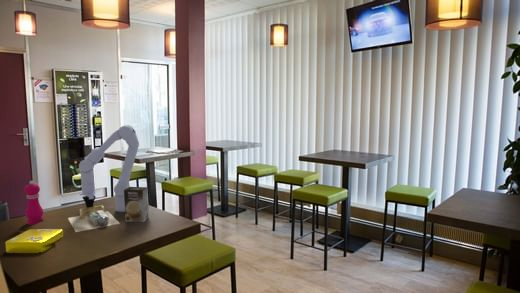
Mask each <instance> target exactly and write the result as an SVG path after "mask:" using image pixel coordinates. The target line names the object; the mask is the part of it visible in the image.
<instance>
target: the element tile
mask: <svg viewBox="0 0 520 293" xmlns="http://www.w3.org/2000/svg"><path fill="white" fill-rule="evenodd" d="M63 237H64V230H63V229H62V228H60V229H58V228H53V229H52V228H42V229H40V228H39V229H38V228H32V229H31V228H30V229H27V230H26V231H23V232H22V233H20V234H18V235H16V236H14V237H12V238H10V239H8V240H6V241H5V252H6V253H7V254H8V253H9V254H16V253H17V254H40V253H39V252H41V253H44V252H46V251H48V250H50V249H51V248H52V247H54V246H56V242H57V241H58V240H60V239H63Z"/></svg>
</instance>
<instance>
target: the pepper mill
mask: <svg viewBox="0 0 520 293" xmlns="http://www.w3.org/2000/svg"><path fill="white" fill-rule="evenodd" d="M40 190H41V189H40V186H39V185H38V184H35V181H33V180H30V181H29V184H28V185H26V186H25V187H24V193H25V194H26V199H27V206H26V209H25V217H26V218H27V221H26V222H27V225H30V226H31V225H35V224H39V223H43V222H44V217H43V216H44V210H43V207H42V205H41V204H40V200H39V197H40V194H39V193H40Z"/></svg>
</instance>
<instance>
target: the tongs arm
mask: <svg viewBox="0 0 520 293" xmlns="http://www.w3.org/2000/svg"><path fill="white" fill-rule="evenodd" d="M88 219H89V220H90V221H91V222H92V223H93V224H94V225H99V224H100V223H99V215H98V214H95V213H94V212H93V211H92V212H88Z"/></svg>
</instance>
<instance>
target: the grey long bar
mask: <svg viewBox="0 0 520 293" xmlns="http://www.w3.org/2000/svg"><path fill="white" fill-rule="evenodd" d="M97 214H98V215H99V223H100V226H101V227H100V228H104V227H103V226H105V227H108V226H107V225H108V224H107V223H109V217H108V216H107V215H106V214H105V213H104V212H103V210H100V211H97Z"/></svg>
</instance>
